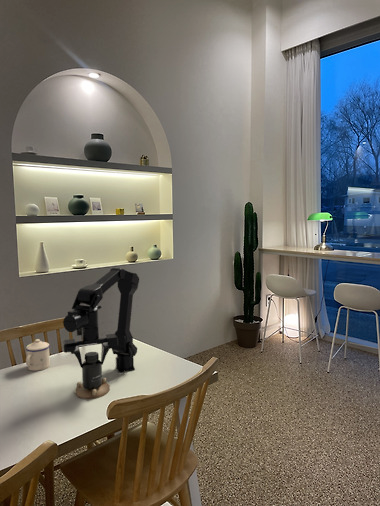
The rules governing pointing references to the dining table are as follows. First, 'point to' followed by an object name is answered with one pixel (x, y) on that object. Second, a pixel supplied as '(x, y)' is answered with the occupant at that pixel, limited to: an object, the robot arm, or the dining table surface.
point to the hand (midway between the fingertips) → (91, 365)
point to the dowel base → (93, 393)
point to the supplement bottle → (92, 371)
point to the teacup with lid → (38, 355)
